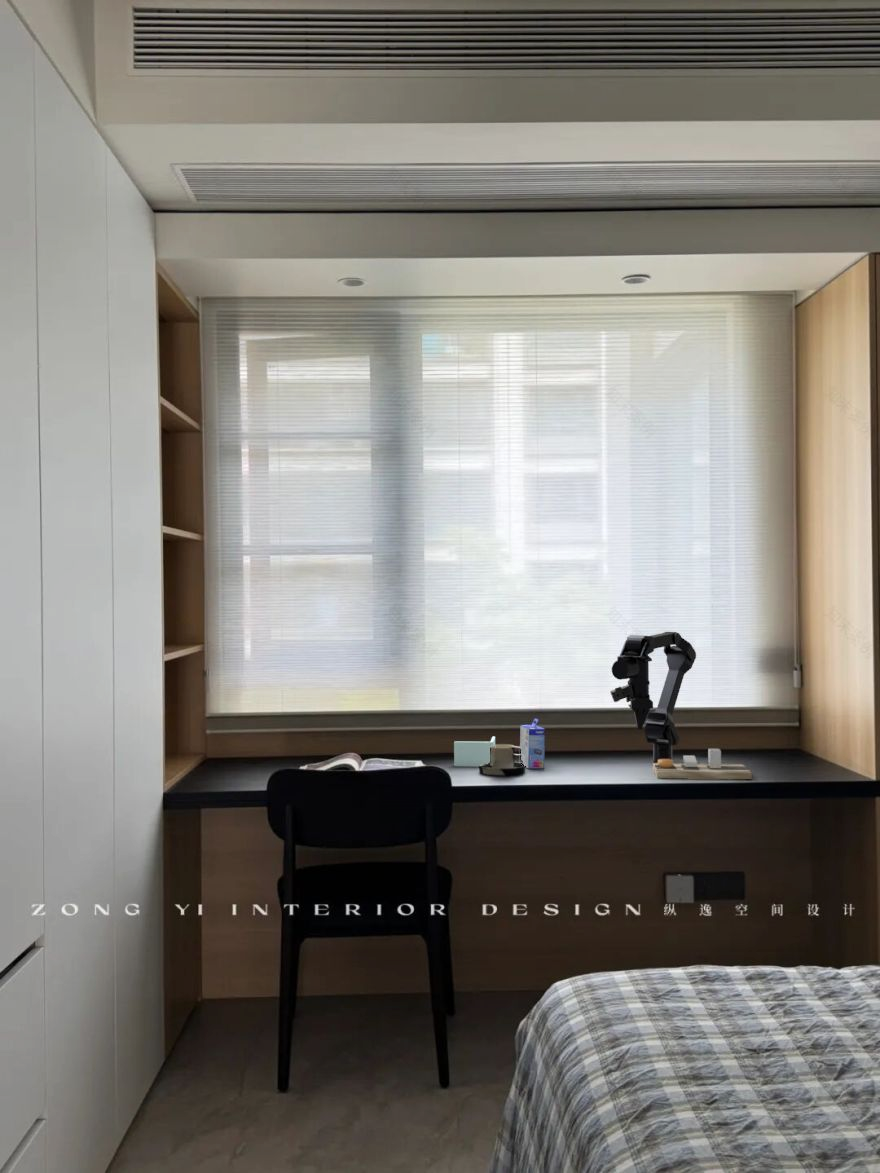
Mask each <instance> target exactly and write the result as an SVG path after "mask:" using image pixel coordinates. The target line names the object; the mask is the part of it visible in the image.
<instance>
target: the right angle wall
mask: <svg viewBox="0 0 880 1173" xmlns="http://www.w3.org/2000/svg"><path fill="white" fill-rule="evenodd" d="M494 745H495V746H496V736H492V737H491V738H490V741H469V740H468V741H465V740H464V741H463V740H462V741H459V740H458V741H455V740H454V742H453V756H454V757H453V758H454V759H453V761H454V762H453V763H454V764H453V766H454V767H478V768H479V766H480V765H481V764H488V763H489V762H490V747H491V746H494Z"/></svg>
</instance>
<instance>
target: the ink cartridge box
mask: <svg viewBox="0 0 880 1173" xmlns="http://www.w3.org/2000/svg"><path fill="white" fill-rule="evenodd" d="M539 721H540V720H539V719H538V718H534V719H533V721H532V723H531V724H521V725H520V730H519V731H520V737H519V742H520V743H519V750H520V749H521V760H522V761H523V763H524V764H525V766H526V767H525V766H524V767H525V768H527V769H530V770H534V769H535V770H536V769H539V770H541V769H545V749H546V748H545V745H546V744H545V742H546V741H545V737H546V735H545V733H546V732H545V731H546V728H544V727H542V726H539V725H538V723H539Z"/></svg>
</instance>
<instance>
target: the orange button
mask: <svg viewBox="0 0 880 1173" xmlns="http://www.w3.org/2000/svg"><path fill="white" fill-rule="evenodd" d="M673 762H674V759H673V758H672V759H658V767H664V768H669V767H673Z"/></svg>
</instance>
